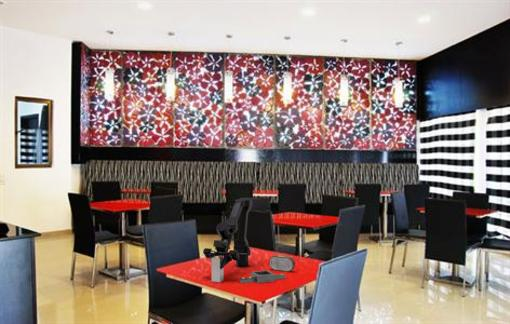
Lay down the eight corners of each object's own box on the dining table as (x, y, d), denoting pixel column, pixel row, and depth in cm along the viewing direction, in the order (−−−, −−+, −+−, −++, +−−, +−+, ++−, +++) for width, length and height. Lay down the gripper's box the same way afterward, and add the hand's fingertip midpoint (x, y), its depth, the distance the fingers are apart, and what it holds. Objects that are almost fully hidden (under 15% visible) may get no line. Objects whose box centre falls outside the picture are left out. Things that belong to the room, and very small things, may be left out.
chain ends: (237, 279, 228) (237, 272, 228) (280, 275, 236) (280, 269, 236) (243, 284, 219) (243, 277, 219) (287, 280, 228) (287, 273, 228)
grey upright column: (215, 279, 229) (215, 254, 229) (223, 280, 228) (223, 255, 228) (211, 281, 225) (211, 256, 225) (219, 282, 224) (219, 257, 224)
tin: (295, 271, 245) (295, 256, 245) (293, 272, 242) (293, 257, 242) (270, 268, 252) (270, 253, 252) (268, 270, 249) (268, 255, 249)
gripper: (204, 232, 233) (194, 258, 223) (237, 234, 227) (228, 261, 217) (211, 245, 241) (201, 270, 230) (243, 247, 234) (235, 273, 224)
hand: (216, 268), depth 225 cm, fingers closed on grey upright column, 4 cm apart
